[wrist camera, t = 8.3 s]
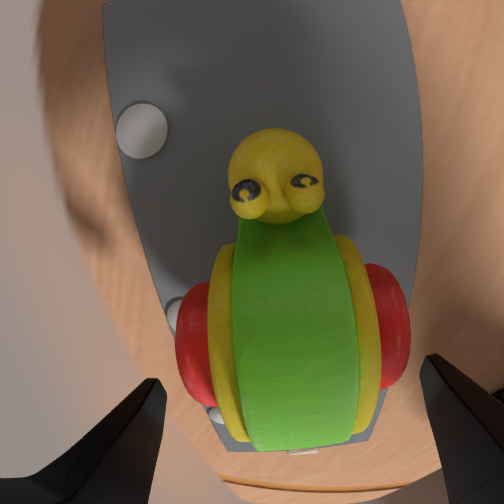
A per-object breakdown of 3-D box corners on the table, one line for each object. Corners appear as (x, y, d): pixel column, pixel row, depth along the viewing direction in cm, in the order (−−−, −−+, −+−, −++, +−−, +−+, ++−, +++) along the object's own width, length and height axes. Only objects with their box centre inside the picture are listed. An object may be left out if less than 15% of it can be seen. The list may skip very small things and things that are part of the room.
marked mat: (367, 434, 18) (368, 442, 17) (227, 445, 19) (226, 453, 18) (384, -28, 6) (391, -35, 5) (109, 8, 7) (99, 3, 6)
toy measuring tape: (363, 120, 8) (499, 137, 3) (344, 434, 17) (354, 513, 11) (177, 142, 9) (46, 190, 3) (255, 442, 17) (250, 521, 12)
